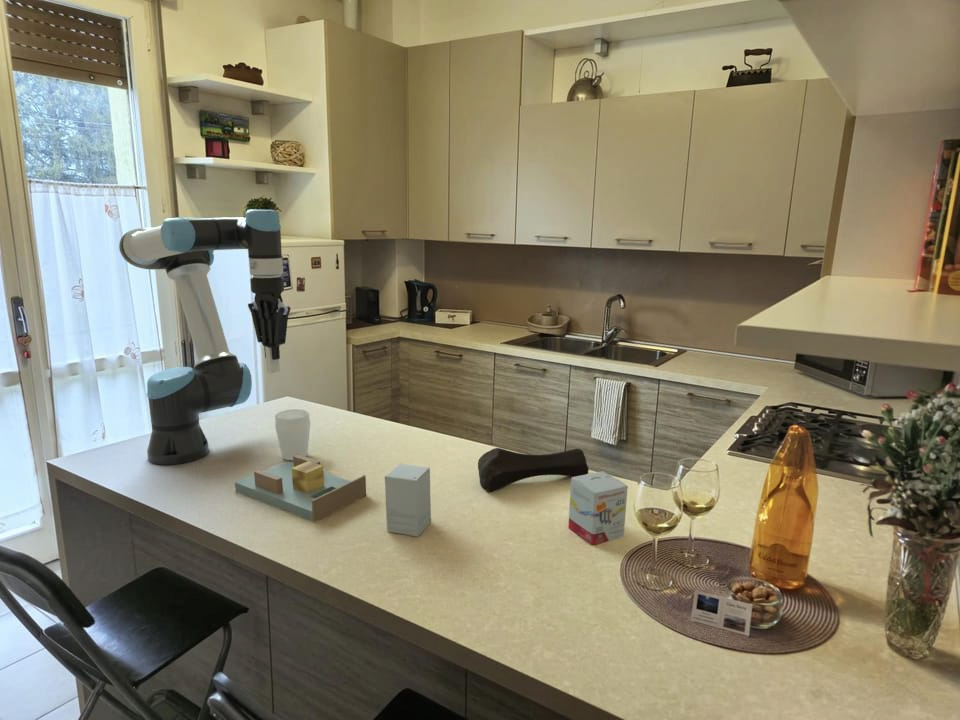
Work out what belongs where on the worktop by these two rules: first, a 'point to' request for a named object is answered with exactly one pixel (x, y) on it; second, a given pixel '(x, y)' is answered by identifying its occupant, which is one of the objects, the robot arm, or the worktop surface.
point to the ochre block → (308, 477)
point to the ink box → (597, 507)
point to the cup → (293, 432)
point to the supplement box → (408, 499)
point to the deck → (312, 506)
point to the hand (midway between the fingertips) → (273, 371)
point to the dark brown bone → (527, 466)
